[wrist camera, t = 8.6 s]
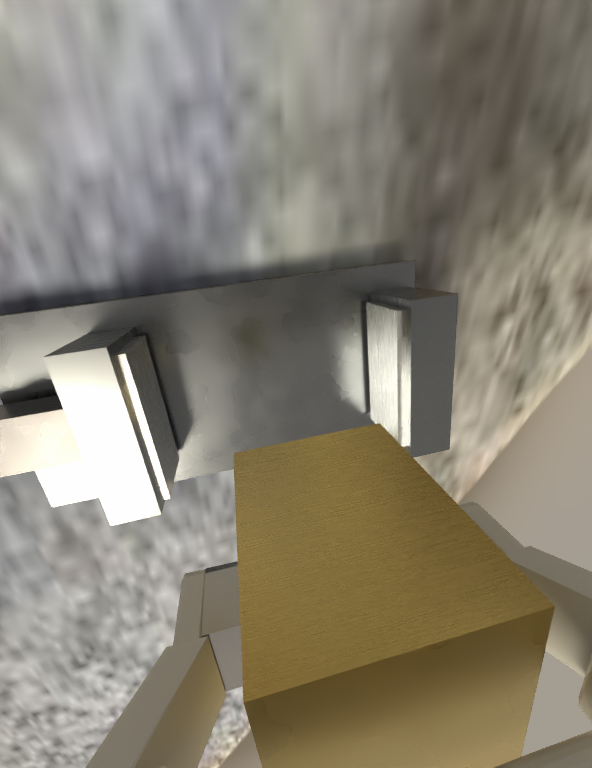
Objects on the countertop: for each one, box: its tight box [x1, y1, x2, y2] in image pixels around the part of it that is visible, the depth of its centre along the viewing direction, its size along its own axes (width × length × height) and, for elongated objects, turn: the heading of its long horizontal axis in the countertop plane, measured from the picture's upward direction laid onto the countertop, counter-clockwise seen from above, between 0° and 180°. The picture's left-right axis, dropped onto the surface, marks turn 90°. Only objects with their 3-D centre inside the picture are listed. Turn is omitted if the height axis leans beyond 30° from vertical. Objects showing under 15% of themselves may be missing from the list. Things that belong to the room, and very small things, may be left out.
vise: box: [0, 260, 458, 507], centre depth 20 cm, size 12×25×6 cm, turn 97°
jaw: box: [0, 327, 179, 526], centre depth 18 cm, size 9×10×5 cm
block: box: [233, 423, 555, 768], centre depth 8 cm, size 4×4×6 cm
